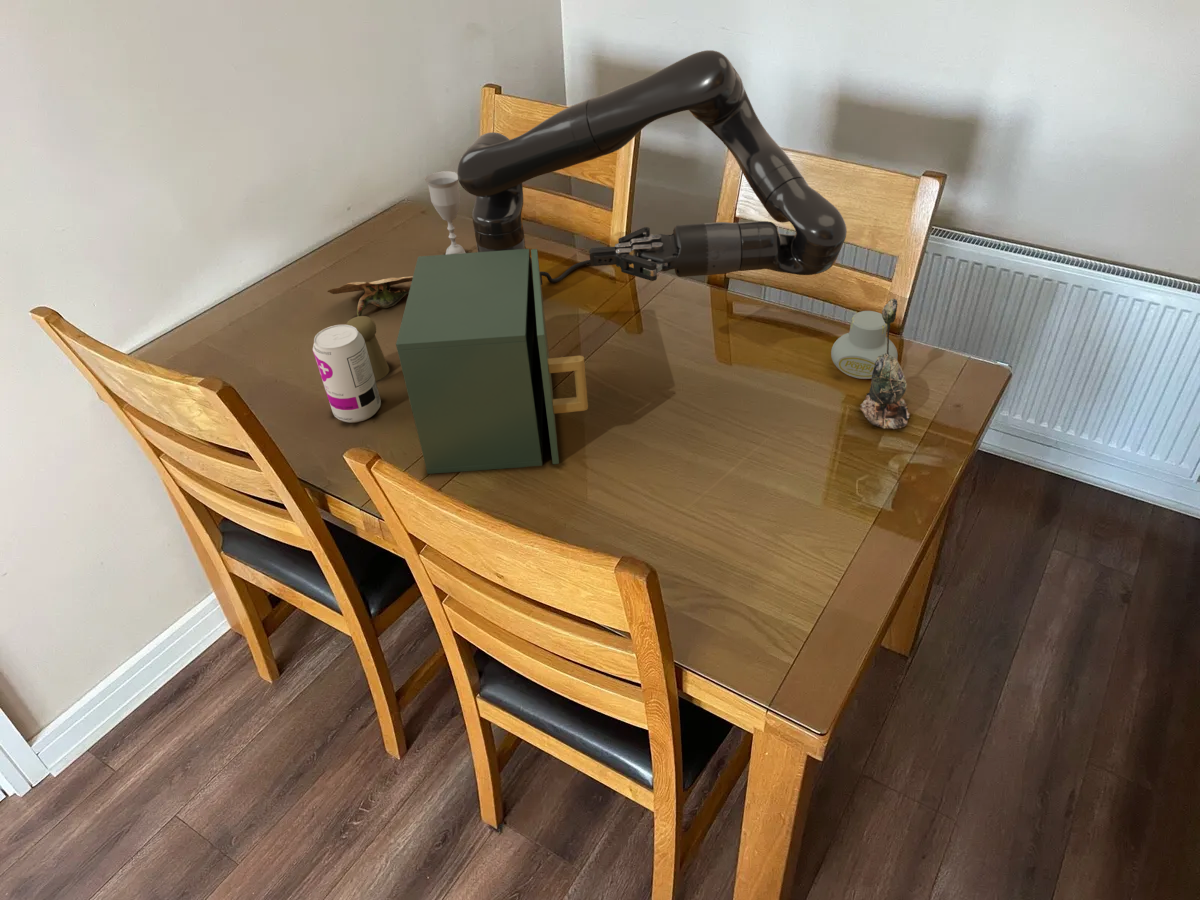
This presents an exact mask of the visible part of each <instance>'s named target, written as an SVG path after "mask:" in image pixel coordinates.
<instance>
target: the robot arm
mask: <svg viewBox="0 0 1200 900" xmlns="http://www.w3.org/2000/svg"><path fill="white" fill-rule="evenodd" d="M686 111H689V112H690V114H692V116H693V117H694V118H695V119H696V120H698V121H699V122H701V123H702V124H703V125H704V126H706V128H707V129H709V130H710V131H711V132H712V133H713V134H714V135H715V136H716V137H717V138H718V139H719V140H720V142H722V143H723V144H724V146H725V147H726V148H727V149H728V151H729V152H730V153H731V155H732V156H733V158H734V160H735V161H736V162H737V163H736V164H738V166H739V168H740V171H741V172H742V174H743V176H744V178H745V180H746V181H747V183H748V185H749V187H750V189H751V190H752V191H753V193H754V194H755V196H756V197H757V199H758V201H760V203H761V204H762V206H763V208H764V209H765V210H766V212H767V213H768V214H769V216H770V217H771V218H772V219H773V220H774V221H776V222H777V223H780V224H781V223H782V224H783V223H790V224H791V225H792V226H793V229H794V230H795V234H787V233H780V232H779V229H778V227H777V225H776V224H775V223H774V222H772V221H768V220H757V221H756V220H755V221H743V222H726V221H717V222H701V223H687V224H685V223H684V224H676V225H675V226H674V227H673V231H672V234H664V233H657V234H653V233H651V230H650V227H648V226H644V227H641V228H639V229H637V230H634V231H633V232H631V233H628V234H626V235H624V236H623V235H622V236H621V237H619V238H618V240H617V241H618V243H615V244H614V246H602V247H591V248H590V249H589V250H588V251H589V259H587V260H583V261H580V262H577V263H575V264H573V265H571V266H570V267H569V268H567V269H566V270H565V271H564V272H563V273H562V274H561V275H560V276H558V277H556V278H552V276H551V274H550V273H549V272H547V271H540V279H541V286H542V285H543V277H546V279H547V280H548V282H549V283H551V284H556V283H559V282H560V281H562V280H563V279H564V278H566V277H567V276H568V275H569V274H570V273H572V272H573V271H574V270H576V269H578V268H580V267H584V266H588V265H590V266H592V267H599V266H600V267H601V266H616V267H617V268H620V271H621V273H623V274H626V275H630V276H634V277H637V278H640V279H644V280H647V281H651V282H654V281H656V280H657V279H658V274H659V273H660V272H668V271H671V270H674V273H675V276H677V277H679V278H681V277H682V278H684V277H685V278H686V277H699V276H715V275H725V274H730V273H735V272H746V271H747V272H748V271H760V270H770V271H774V272H777V273H784V274H791V275H796V276H797V275H798V276H814V275H818V274H822V273H825V272H827V271H828V270H830V269H831V268H832V267H833V266H834V265H835V263H836V262H837V259H838V257H839V255H840V252H841V249H842V248H843V245H844V243H845V241H846V238H847V232H848V231H847V224H846V221H845V219H844V217H843V215H842V214H841V212H840V211H839V209H838V208H837V207H836V206H835V205H834V204H833V203H831V202H830V201H829V200H828V199H826V198H825V197H824V196H823V195H822V194H821V193H819V192H818V191H816V190H815V189H814V188H812V187H811V186H810V185H809V183H808V182H807V181H806V179H805V177H804V176H803V174H802V173H801V172H800V171H799V169H798V168H797V166H796V165H795V164H794V162H793V161H792V159H790V157H789V156H788V154H787V153H786V152H785V150H784V149H782V147H781V146H780V145H779V144H778V143H777V142H776V140H774V138H772V136H771V135H770V134H769V132H768V131H767V129H766V128H765V127H764V125H763V124H762V122H761V121H760V119H759V117H758V116H757V113H756V111H755V109H754V108H753V105H752V103H751V99H750V98H749V96H748V93H747V91H746V89H745V86H744V83H743V80H742V78H741V76H740V74H739V73H738V71H737V70H736V68H735V67H734V65H733V64H732V62H731V61H730V59H729V58H728V57H727V56H726V55H725V54H723V53H722V52H720V51H717V50H714V49H713V50H712V49H709V50H708V49H706V50H701V51H698V52H695V53H691V54H690V55H688V56H685V57H683V58H681V59H680V60H678V61H676V62H673V63H672V64H670V65H668V66H666V67H664V68H662V69H660V70H658V71H657V72H654V73H652V74H650V75H648V76H646V77H644V78H642V79H638V80H637V81H634V82H631V83H629V84H626V85H624V86H620V87H618V88H616V89H614V90H611V91H608V92H607V93H603V94H600V95H597V96H594V97H592V98H589V99H585V100H583V101H580V102H578V103H575V104H573V105H571V106H568V107H566V108H564V109H562V110H559V111H558V112H557V113H555V114H553V115H552V116H550V117H548V118H546V119H545V120H543V121H542V122H540V123H539V124H537V125H535V126H534V127H532V128H531V129H529V130H527V131H526V132H524V133H522V134H521V135H519V136H516V137H514V138H511V139H509V137H508V136H506V135H504V134H502V133H500V132H494V131H493V132H492V131H491V132H486V133H483V134H482V135H480V136H479V137H477V138H476V139H475V140H474V141H473V142H472V143H471V144H470V145H469V146H468V148H467V149H466V150H465V151H464V152H463V153H462V155H461V157H460V159H459V161H458V164H457V167H456V173H457V176H458V184H459V185H460V186H461V188H463V190H465V191H466V192H467V193H469V194H470V195H473V196H474V197H475V198H474V199H475V200H474V205H473V209H472V211H471V213H472V214H471V218H472V225H473V231H474V238H475V244H476V251H477V252H489V251H503V250H517V249H527V246H526V238H525V231H524V222H523V209H524V187H523V183H525V182H527V181H529V180H532V179H534V178H537V177H540V176H542V175H546V174H551V173H554V172H557V171H561V170H564V169H567V168H570V167H573V166H577V165H579V164H582V163H585V162H586V163H587V162H589V161H593V160H595V159H598V158H602V157H604V156H608V155H610V154H613V153H615V152H617V151H619V150H621V149H622V148H623V147H625V146H626V145H628V144H629V143H630V141H632V140H633V139H634V138H635V137H636V136H637V135H638V134H639V133H640V132H641V131H642V130H643V129H644V128H645V127H647V126H648V125H649V124H651V123H653V122H655V121H657V120H660V119H662V118H665V117H667V116H670V115H673V114H677V113H681V112H686ZM530 259H531V268H532V257H531V256H530ZM532 276H533V271H532Z"/></svg>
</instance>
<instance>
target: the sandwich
mask: <svg viewBox="0 0 1200 900" xmlns="http://www.w3.org/2000/svg"><path fill="white" fill-rule="evenodd" d="M412 279H413V275H411V276H402V277H388V278H382V279H378V280H375V281H370V282H369V281H368V282H367V281H351V282H348V283H346V284H343V285H341V286H338V287H334V288H331V289H329V290H327V293H330V294H332V295H338V294H344V293H345V294H346V293H353V292H362V291H363V292H364V294H363V295H362V296H361V297H360V298H359V300H358V303H357V307H356V315H357V317H358V316H362V314H363V311H364V310H365V309H366V308H367V306H368V305H369V304H371V305H374V306H376V307H378V308H382V309H388V308H391V307H394V306H396V304H398V303H399V302H400V301H401V300H402V299H403V298H404V297H405V296H407V295H409V291H410V289H409V290H408V291H407V290H406V289H402V291H401V290H396V291H392V290H391V286H395V285H399V284H404V283H409V282H412ZM381 290H382V291H381Z"/></svg>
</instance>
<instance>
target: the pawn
mask: <svg viewBox="0 0 1200 900" xmlns="http://www.w3.org/2000/svg"><path fill="white" fill-rule="evenodd" d="M345 325H350V326H353V327H355V328H356V329H357V331H358V332H359V333H360V334H361V335H362V336H363V338H364V341H365V344H366V348H367V352H368V356H369V359H370V363H371V367H372V370H373V374H374V378H375V381H376V382H377V381H380V380H381V379H383V378H385V377H387V375H388V374H389V372H390V366H389V364H388V362H387V360H386V357H385V355H384V352H383V350H382V347H381V346H380V345H381V344H380V343H379V341H378V338H377V336H376V333H377V326H376V322H375V320H374V319H372V318H371V317H369V316H366V315H361V316H358V315H357V316H354V317H353V318H350V319H349V320H348V321H347V323H346V324H345Z"/></svg>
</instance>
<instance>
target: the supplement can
mask: <svg viewBox="0 0 1200 900" xmlns="http://www.w3.org/2000/svg"><path fill="white" fill-rule="evenodd" d="M312 353H313V356H314V359H315V362H316V364H317V368H318V372H319V374H320V378H321V380H322V384H323V388H324V391H325V394H326V397H327V400H328V402H329V405H330V408H331V412H332V414H333V416H334V418H336V419H338V420H340V421H341V422H344V423H360V422H364V421H366V420H368V419H370V418H372V417H373V416H374V415H375V414H376V413H377V412H378V411H379V409H380V408H381V405H382V402H381V401H382V400H381V397H380V393H379V389H378V385H377V381H375V378H374V374H373V370H372V367H371V363H370V359H369V356H368V352H367V348H366V344H365V341H364V338H363V336H362V335H361V334H360V333H359V332H358V331H357V329H356V328H355V327H353V326H350V325H346V324H335V325H331V326H328V327H325V328H323V329H322V330H320V331H318V332H317V333H316V334H315V335H314V338H313V345H312Z"/></svg>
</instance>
